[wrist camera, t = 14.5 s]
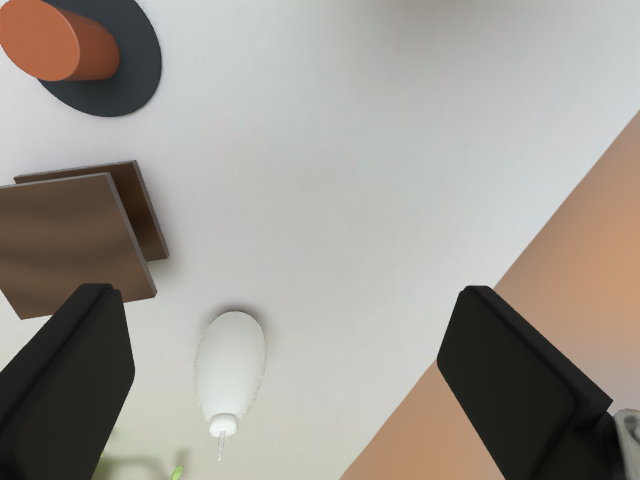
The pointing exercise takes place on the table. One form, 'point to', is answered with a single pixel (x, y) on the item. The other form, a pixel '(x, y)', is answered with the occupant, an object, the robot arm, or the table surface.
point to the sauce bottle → (229, 371)
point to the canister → (56, 42)
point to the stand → (76, 236)
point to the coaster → (134, 65)
